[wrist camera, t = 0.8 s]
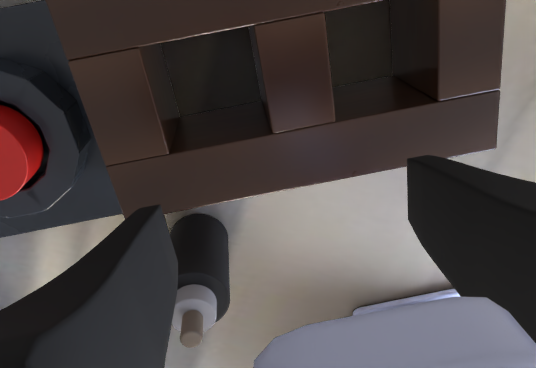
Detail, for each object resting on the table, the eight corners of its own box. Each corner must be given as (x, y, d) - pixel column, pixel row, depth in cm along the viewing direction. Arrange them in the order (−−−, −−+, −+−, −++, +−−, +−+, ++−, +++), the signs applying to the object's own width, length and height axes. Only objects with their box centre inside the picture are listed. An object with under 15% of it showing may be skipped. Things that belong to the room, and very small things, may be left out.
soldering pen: (233, 256, 25) (238, 360, 18) (177, 267, 25) (162, 375, 18) (221, 208, 24) (222, 301, 17) (162, 220, 24) (139, 318, 17)
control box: (138, 200, 23) (127, 230, 20) (-13, 230, 23) (-44, 264, 20) (68, -5, 19) (43, -1, 16) (-120, 31, 18) (-179, 40, 16)
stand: (441, 114, 23) (496, 149, 18) (144, 172, 22) (125, 222, 18) (443, -88, 19) (514, -108, 14) (82, -21, 18) (37, -19, 14)
